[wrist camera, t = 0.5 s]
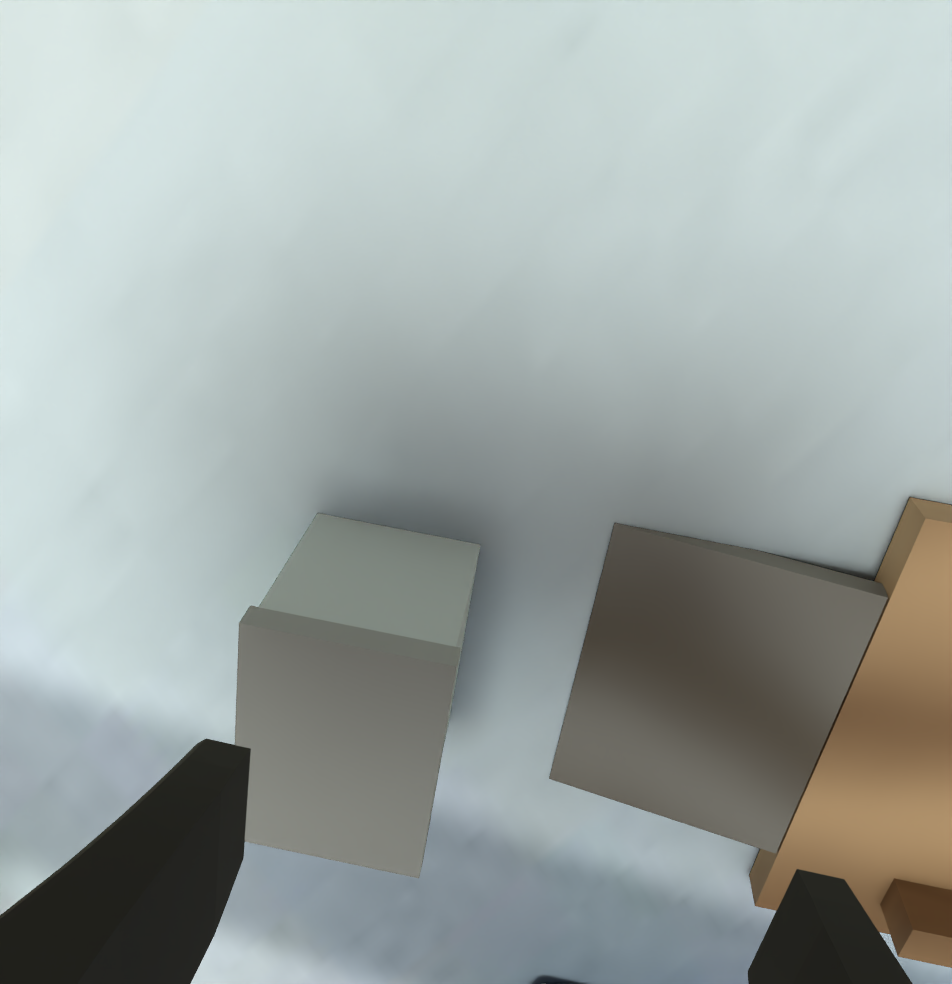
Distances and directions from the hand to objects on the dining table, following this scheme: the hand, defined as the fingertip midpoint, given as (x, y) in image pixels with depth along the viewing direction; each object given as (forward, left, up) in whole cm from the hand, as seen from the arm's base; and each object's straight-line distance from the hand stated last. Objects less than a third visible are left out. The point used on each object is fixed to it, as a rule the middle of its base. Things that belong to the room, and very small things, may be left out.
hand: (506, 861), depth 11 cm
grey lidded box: (-4, +3, -10) cm, 11 cm away
